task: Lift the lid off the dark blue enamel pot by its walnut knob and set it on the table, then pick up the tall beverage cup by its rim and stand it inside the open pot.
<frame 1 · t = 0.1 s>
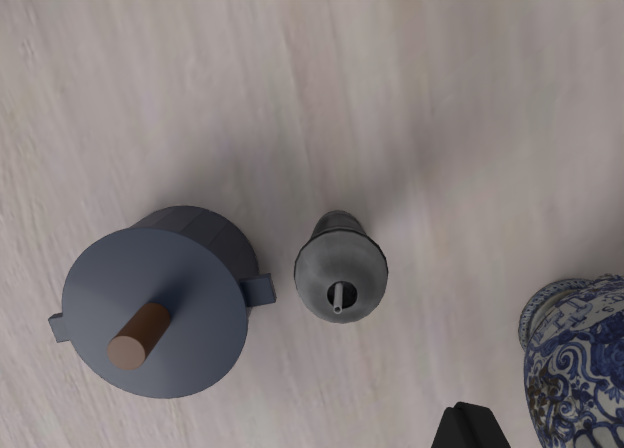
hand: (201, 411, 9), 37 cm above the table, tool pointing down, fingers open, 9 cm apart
lid: (156, 314, 39), point 9 cm above the table, touching pot
decorative vase: (568, 322, 48), on the table
pot: (189, 273, 48), on the table
beverage cup: (337, 231, 46), on the table
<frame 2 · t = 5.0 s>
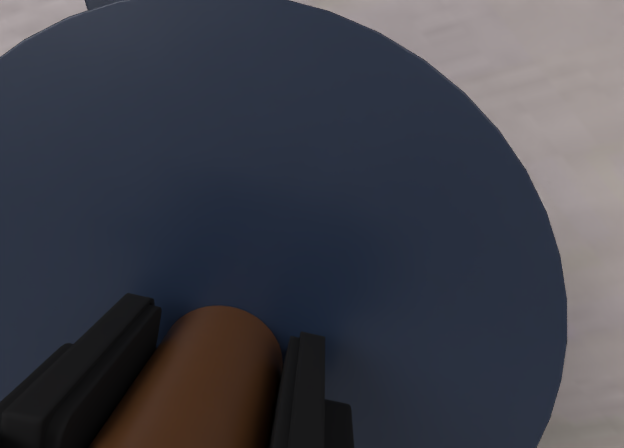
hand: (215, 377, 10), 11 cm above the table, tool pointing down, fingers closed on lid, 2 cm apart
lid: (228, 346, 11), point 10 cm above the table, touching gripper, pot
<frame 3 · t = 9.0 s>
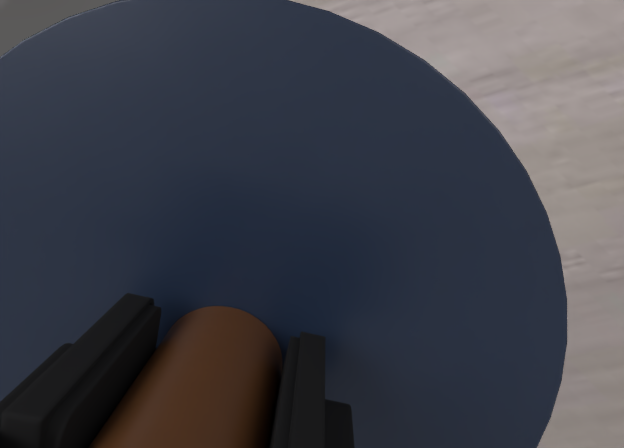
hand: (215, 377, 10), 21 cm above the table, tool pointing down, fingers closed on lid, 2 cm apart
lid: (227, 346, 11), point 20 cm above the table, touching gripper
when the fingers open (2 cm above the table, at t = 13.2 s): lid stays where it is, point 1 cm above the table.
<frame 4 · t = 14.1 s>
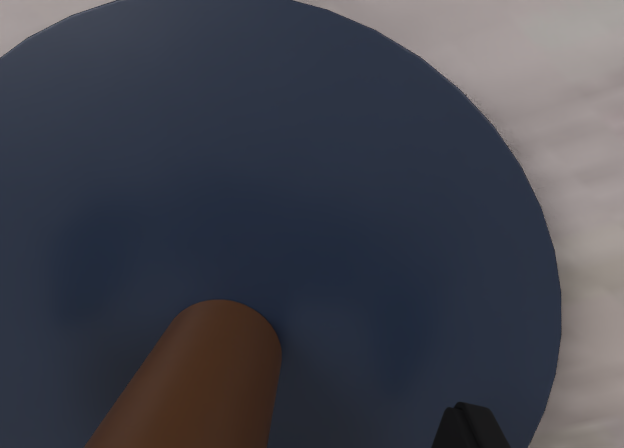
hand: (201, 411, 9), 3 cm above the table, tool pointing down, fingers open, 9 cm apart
lid: (228, 340, 11), point 1 cm above the table
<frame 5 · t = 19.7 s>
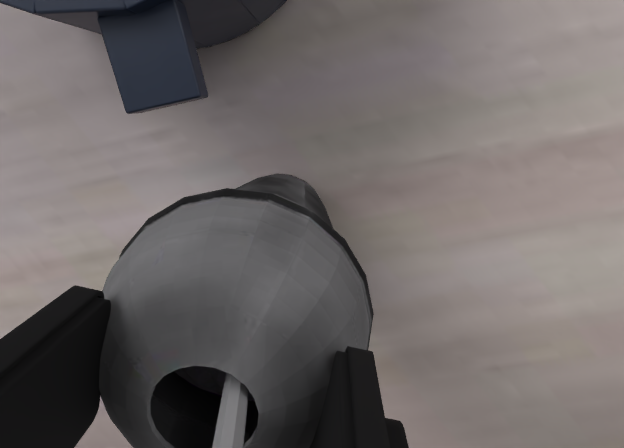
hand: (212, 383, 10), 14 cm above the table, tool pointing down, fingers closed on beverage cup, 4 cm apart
beverage cup: (281, 215, 24), on the table, touching gripper
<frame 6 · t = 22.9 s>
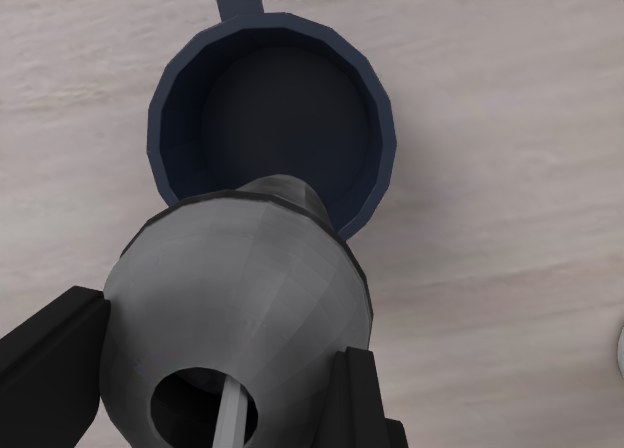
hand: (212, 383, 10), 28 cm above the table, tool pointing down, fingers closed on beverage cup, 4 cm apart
pot: (284, 135, 36), on the table
beverage cup: (281, 216, 24), point 13 cm above the table, touching gripper
when the fingers open (15 cm above the table, at t = 26.4 s): beverage cup stays where it is, resting on pot.
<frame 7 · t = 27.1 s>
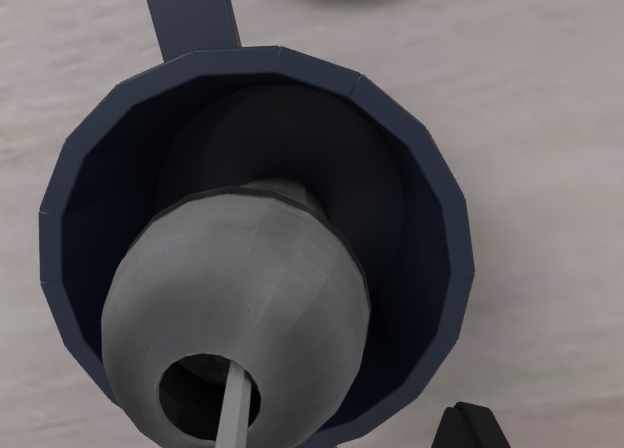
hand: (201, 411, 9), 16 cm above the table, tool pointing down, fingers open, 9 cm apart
pot: (280, 211, 25), on the table
beverage cup: (281, 213, 24), resting on pot
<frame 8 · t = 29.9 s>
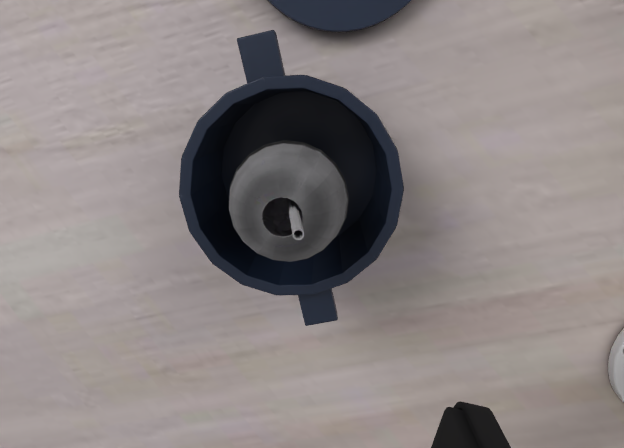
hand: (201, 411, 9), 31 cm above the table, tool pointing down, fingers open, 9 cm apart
pot: (298, 171, 39), on the table
beverage cup: (299, 172, 39), resting on pot
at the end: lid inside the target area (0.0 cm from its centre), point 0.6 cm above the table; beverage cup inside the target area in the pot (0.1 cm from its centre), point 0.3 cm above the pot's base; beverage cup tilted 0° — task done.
